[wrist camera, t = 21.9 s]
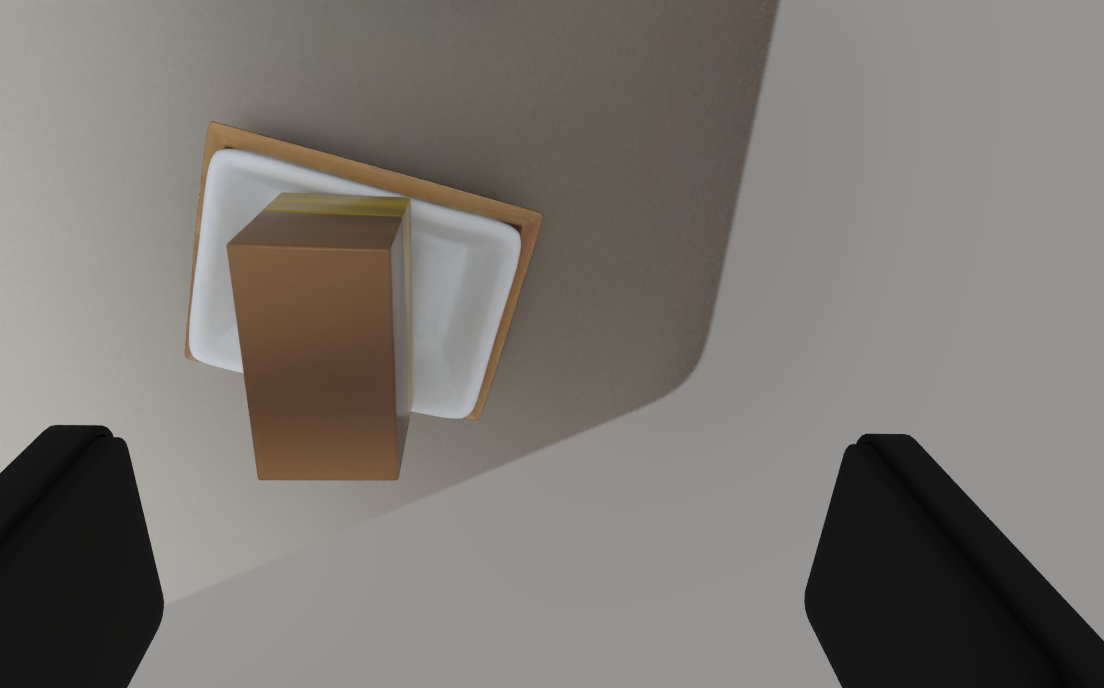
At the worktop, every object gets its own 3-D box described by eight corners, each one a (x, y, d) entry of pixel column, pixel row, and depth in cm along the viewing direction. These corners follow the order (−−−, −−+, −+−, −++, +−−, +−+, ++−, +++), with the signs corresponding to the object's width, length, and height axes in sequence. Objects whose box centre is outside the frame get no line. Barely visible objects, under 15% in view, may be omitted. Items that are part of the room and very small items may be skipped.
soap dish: (538, 190, 31) (547, 223, 27) (481, 383, 35) (480, 441, 30) (238, 105, 29) (191, 125, 24) (212, 323, 33) (168, 376, 28)
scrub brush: (280, 191, 25) (224, 243, 20) (410, 196, 26) (390, 249, 20) (300, 390, 29) (257, 481, 23) (414, 392, 29) (398, 481, 24)
